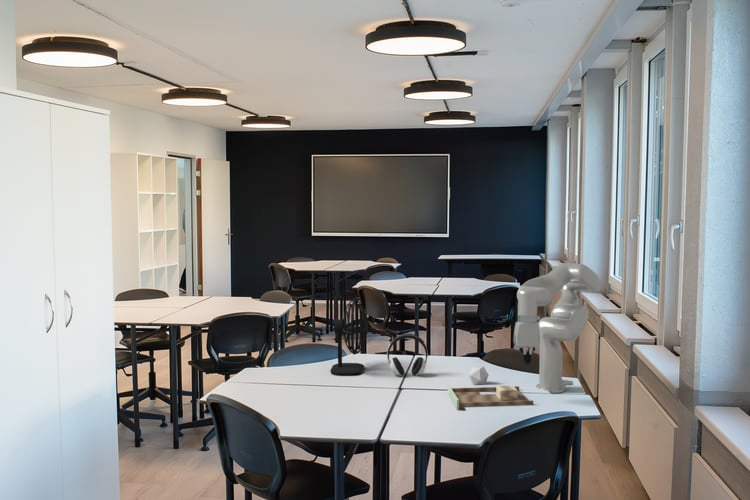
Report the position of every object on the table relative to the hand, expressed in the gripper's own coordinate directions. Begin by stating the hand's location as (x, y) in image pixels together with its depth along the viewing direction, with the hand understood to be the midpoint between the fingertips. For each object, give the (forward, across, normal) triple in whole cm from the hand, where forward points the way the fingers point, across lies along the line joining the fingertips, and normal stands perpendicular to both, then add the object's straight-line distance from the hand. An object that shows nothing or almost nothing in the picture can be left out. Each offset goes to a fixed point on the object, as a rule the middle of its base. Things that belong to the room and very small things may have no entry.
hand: (526, 363), depth 289 cm
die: (+15, +14, -26) cm, 34 cm away
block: (+14, +8, 0) cm, 16 cm away
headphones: (+16, +44, -44) cm, 64 cm away
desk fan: (+16, +71, -56) cm, 92 cm away
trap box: (+15, +16, 0) cm, 22 cm away
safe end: (+16, +30, 0) cm, 34 cm away
